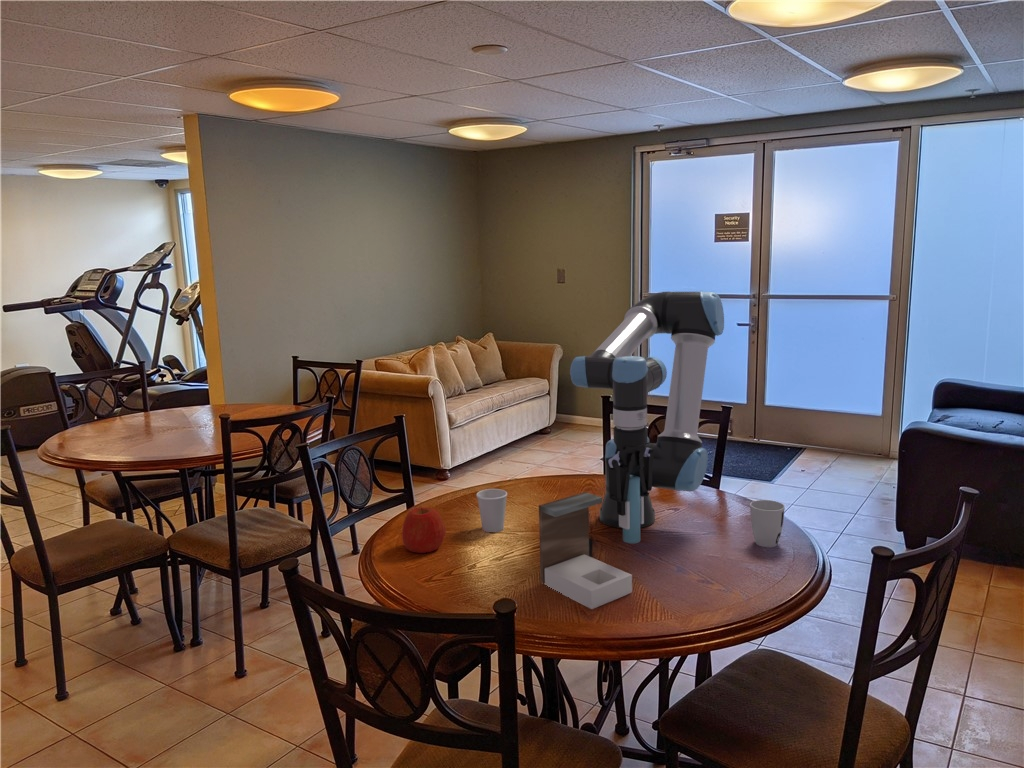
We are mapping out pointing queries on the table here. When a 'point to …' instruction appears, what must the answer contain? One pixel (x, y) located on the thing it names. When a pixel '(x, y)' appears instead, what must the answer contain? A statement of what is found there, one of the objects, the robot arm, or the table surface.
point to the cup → (767, 522)
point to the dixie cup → (492, 509)
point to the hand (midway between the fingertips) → (631, 524)
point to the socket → (588, 581)
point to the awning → (564, 529)
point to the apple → (423, 530)
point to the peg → (633, 511)
